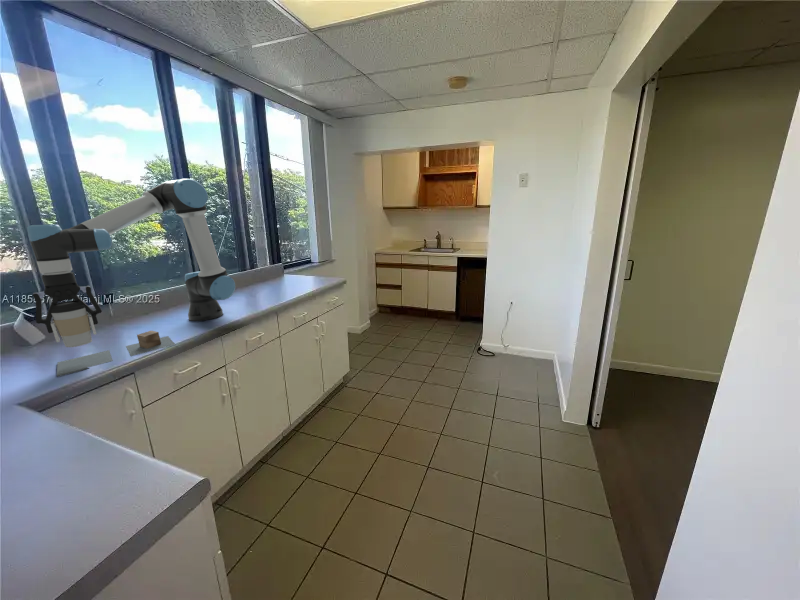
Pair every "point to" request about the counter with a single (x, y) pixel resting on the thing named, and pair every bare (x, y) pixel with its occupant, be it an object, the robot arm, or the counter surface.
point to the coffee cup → (72, 323)
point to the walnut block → (149, 339)
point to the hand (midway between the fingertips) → (77, 337)
